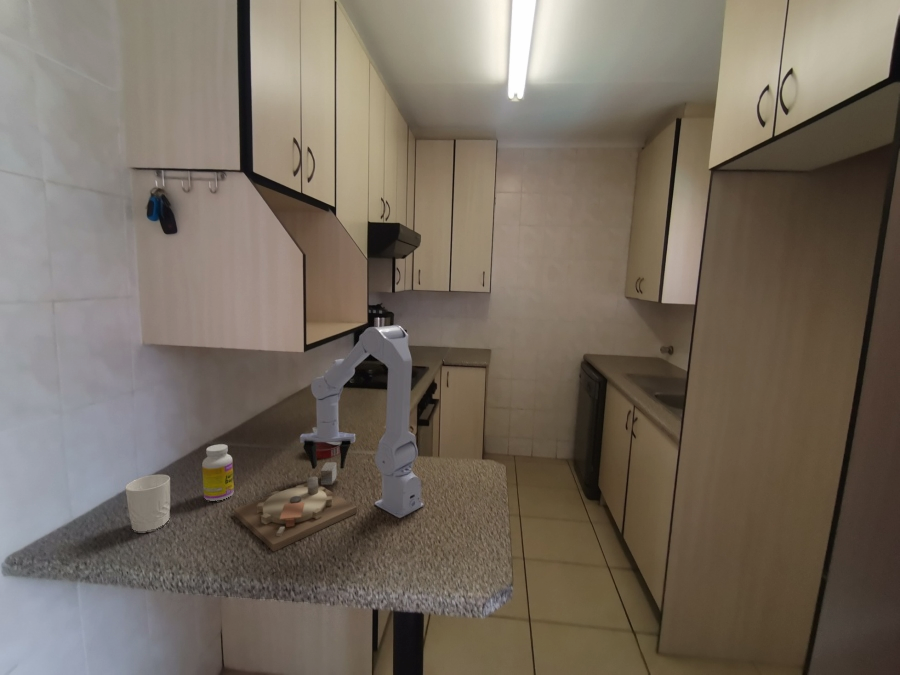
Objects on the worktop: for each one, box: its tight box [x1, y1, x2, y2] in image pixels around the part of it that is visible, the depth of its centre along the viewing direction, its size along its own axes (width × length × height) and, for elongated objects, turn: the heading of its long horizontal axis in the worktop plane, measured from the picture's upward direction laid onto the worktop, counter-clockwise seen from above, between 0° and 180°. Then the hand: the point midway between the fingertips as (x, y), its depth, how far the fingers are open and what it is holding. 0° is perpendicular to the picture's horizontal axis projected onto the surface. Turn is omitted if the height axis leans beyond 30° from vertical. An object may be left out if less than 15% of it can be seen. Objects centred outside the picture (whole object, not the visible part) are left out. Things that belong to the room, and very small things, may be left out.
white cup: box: [124, 474, 171, 531], centre depth 91 cm, size 8×8×10 cm
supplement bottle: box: [201, 443, 235, 502], centre depth 104 cm, size 7×7×13 cm
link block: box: [320, 461, 338, 486], centre depth 114 cm, size 6×3×4 cm, turn 3°
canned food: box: [312, 426, 342, 460], centre depth 134 cm, size 11×10×10 cm
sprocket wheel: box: [257, 476, 332, 527], centre depth 96 cm, size 16×16×5 cm
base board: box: [233, 481, 358, 552], centre depth 97 cm, size 20×20×2 cm
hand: (328, 467), depth 114 cm, fingers open, 7 cm apart
